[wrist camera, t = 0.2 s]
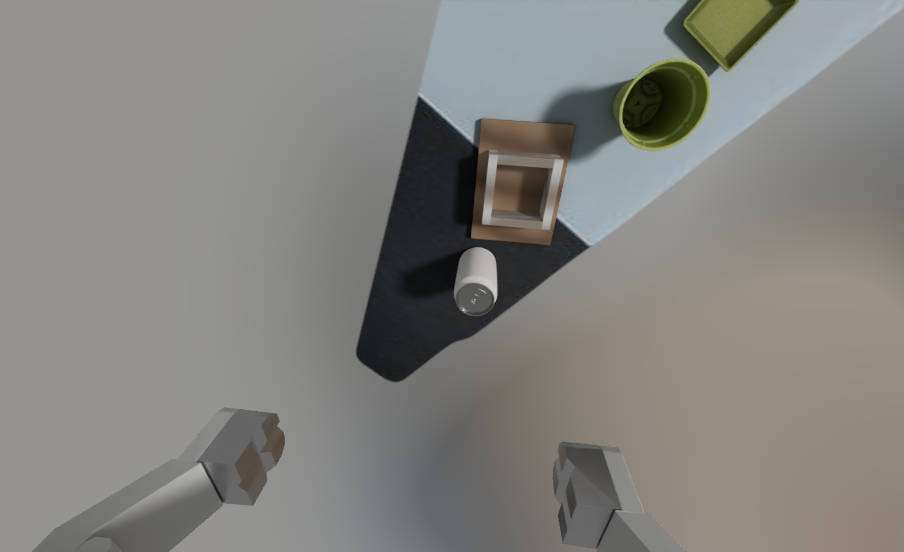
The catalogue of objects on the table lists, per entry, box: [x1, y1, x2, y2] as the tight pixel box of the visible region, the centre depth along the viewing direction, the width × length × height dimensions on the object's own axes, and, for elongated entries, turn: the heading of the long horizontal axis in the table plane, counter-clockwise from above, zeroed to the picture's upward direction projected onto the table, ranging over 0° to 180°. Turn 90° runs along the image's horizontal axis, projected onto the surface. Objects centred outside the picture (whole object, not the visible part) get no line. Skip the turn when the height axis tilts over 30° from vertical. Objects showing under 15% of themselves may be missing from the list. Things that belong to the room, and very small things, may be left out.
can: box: [454, 247, 497, 316], centre depth 55 cm, size 6×6×12 cm
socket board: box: [471, 118, 576, 245], centre depth 51 cm, size 18×13×6 cm
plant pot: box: [613, 58, 711, 151], centre depth 42 cm, size 9×9×9 cm
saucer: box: [683, 0, 799, 72], centre depth 40 cm, size 9×9×2 cm
